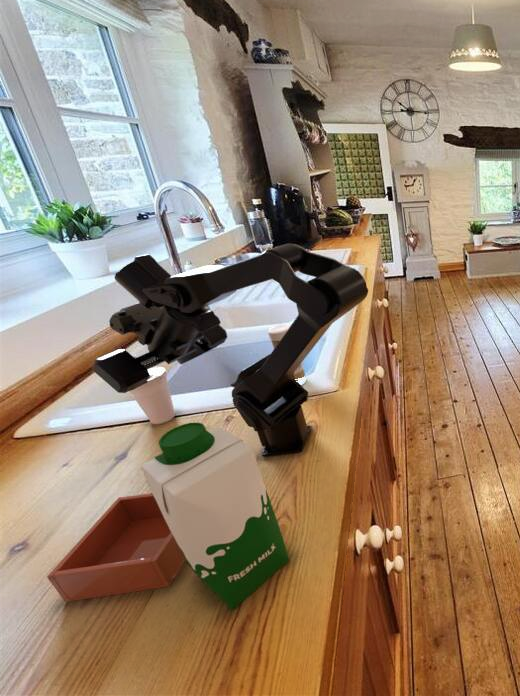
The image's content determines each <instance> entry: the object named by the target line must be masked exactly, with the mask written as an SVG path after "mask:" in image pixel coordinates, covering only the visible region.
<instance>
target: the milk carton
mask: <svg viewBox="0 0 520 696" xmlns="http://www.w3.org/2000/svg"><path fill="white" fill-rule="evenodd" d="M158 445H159V448H160V450H161V452H162V453H160V454H157V455H156V456H154V458H152V459H150V460H148V461H146V462H144V463H142V464H141V465H140V468H141V470H142V472H143V475H144V478H145V480H146V482H147V486H148V487H149V490H150V492H151V493H152V494H153V496H154V498H155V499H156V501H157V504H158V506H159V508H160V510H161V512H162V515H163V517H164V519H165V521H166V523H167V525H168V527H169V529H170V531H171V533H172V535H173V536H174V538H175V540H176V542H177V544H178V546H179V548H180V550H181V552H182V554H183V556H184V558H185V560H186V561H185V562H186V563H187V565H188V566H189V567H190V569H191V570H192V572H193V573H194V574H195V575H196V576H197V577H198V578H199V579H200V580H201V581H202V582H203V584H205V585H206V587H208V588H209V589H210V591H212V593H213V594H215V595H216V596H217V597H218V598H219V599H220V600H221V601H222V602H223V603H224V604H225V605H226V606H227V607H228V608H229V609H230V610H231V611H233V610H235V609H236V608H237V607H238V606H239V605H240V604H242V603H243V602H244V601H245V600H246V599H247V598H248V597H250V596H251V595H252V594H253V593H254V592H255V591H256V590H257V589H259V588H260V587H261V586H262V585H263V584H265V583H266V582H267V581H268V580H269V579H270V578H272V576H274V575H275V574H276V573H277V572H278V571H279V570H281V569H282V568H283V567H284V566H285V565H286V564H287V563H289V562H290V561H291V560H290V556H289V554H288V550H287V547H286V544H285V541H284V537H283V535H282V534H283V533H282V532H281V528H280V525H279V522H278V520H277V517H276V513H275V511H274V508H273V505H272V502H271V499H270V497H269V494H268V492H267V489H266V486H265V482H264V479H263V477H262V474H261V471H260V470H259V469H260V468H259V465H258V463H257V459H256V454H255V448H254V447H253V446H251V445H250V444H248V443H246V442H245V441H244V439H242V438H241V437H240V436H238V435H236V434H234V433H232V432H230V431H229V430H227V429H226V428H224V427H223V426H221V425H215V426H213V427H211V428H210V429H208V430H207V428H206V426H205V425H204V424H203V423H202V422H197V421H196V422H187V423H184V424H181V425H179V426H175V427H173V428H172V429H170V430H168V431H167V432H165V433H164V434H163V435H162V436H161V437H160V438H159V440H158Z"/></svg>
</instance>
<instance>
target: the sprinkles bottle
mask: <svg viewBox="0 0 520 696" xmlns="http://www.w3.org/2000/svg"><path fill="white" fill-rule="evenodd" d="M291 325H292V324H288V323H284V324H283V323H282V324H277V325H275V326H273V327H270V328H269V329H268V331H267V335H268V337H269V340H270V342H271V344H272V347H273V350H274V349H275V347H276V346H277V344H278V343H279V342H280V340H281V339H282V337H283V336H284V334H285V333H286V332H287V330H288V329H289V327H290V326H291ZM294 375H295V377H296V379H298V378H302V377H304V376H305V377H306V374H305V370H304V365H303V362H302V363H301V364H300V365H299V366H298V368H297V369H296V370H295V372H294ZM295 381H298V380H295Z"/></svg>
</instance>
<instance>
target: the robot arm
mask: <svg viewBox="0 0 520 696" xmlns="http://www.w3.org/2000/svg"><path fill="white" fill-rule="evenodd" d="M298 272H299V273H301V274H303V275H306V276H310V277H314V278H311V279H310V280H307V281H306V280H304V279H303V278H301V277H299V276H298V275H297V274H296V273H298ZM114 280H115V282H117V283H118V284H119V285H120V286H121V287H122V288H123V289H125V290H126V292H128V293H129V294H130V295H131V296H132V297H133V298H135V300H137V301H138V302H136V303H134V304H131V305H128V306H125V307H122V308H120V310H119V311H116V312H114V313H113V314H112V315H111V316H110V318H109V327H110V328H111V330H113V331H115V332H116V333H117V334H120V335H122V336H124V335H126V334H129V333H131V334H135V335H136V336H138V337H137V339H136V340H137V342H138V343H139V344H141V345H142V346H145V345H146V346H147V350H148V352H146V353H144V354H142V355H139V356H136V357H137V358H134V357H133V356H134V355H132V354H131V353H130V352H129V351H127V350H126V349H122V348H119V349H117V350H114V351H111V352H110V353H107V354H104V355H103V356H100V357H97V358H95V360H94V363H93V366H92V368H91V371H92V372H94V373H95V374H96V375H97V376H98V377H99V378H100V379H102V380H103V381H104V382H105V383H107V384H108V385H109V386H110V387H111V388H112V389H113V390H115V391H116V393H118V394H126V393H129V391H132V390H134V389H136V388H138V387H140V386H141V385H143V384H145V383H147V382H148V381H147V380H148V379H149V377H150V374H149V372H148V370H149V369H151V368H153V367H158V366H159V365H161V364H163V363H166V364H167V365H170V364H172V363H174V362H177V363H179V364H180V365H184V364H186V363H188V362H189V361H192V360H194V359H196V358H199V356H203V355H204V354H206V353H208V352H210V351H212V350H215V349H216V348H217V347H219V346H220V345H223V344H224V343H225V342H226V340H227V339H228V333H227V330H226V329H225V328H224V327H223V326H222V325H221V323H222V322H221V320H220V318H219V316H218V315H216V313H215V312H214V310H212V309H211V308H210V307H211V305H213V304H215V303H218V302H220V301H223V300H225V299H228V298H229V297H230V296H232V295H233V294H235V293H236V292H237V291H238V290H241V289H245V288H248V287H251V286H255V285H258V284H260V283H264V282H267V281H271V280H273V281H275V282H276V283H278V285H280V287H281V289H282V291H283V292H284V294H285V296H286V297H287V299H288V300H290V301H291V302H292V303H294V304H295V305H296V309H297V313H298V314H297V316H296V317H295V319H294V320H293V321H292V323H291V324H290V325H291V326H290V327H289V329H288V330H287V332H286V333H285V334H284V336H283V337H282V339H281V340H280V342H279V343H278V344H277V346H276V347H275V349H274V348H273V350H272V351H271V352H270V353H269V354H267V355H265V356H264V357H262V358H260V359H259V360H257V361H255V362H254V363H252V364H251V365H249V366H247V367H245V368H243V369H242V370H241V371H240V372H239V373H238V375H237V377H236V381H234V382H233V383H231V384H230V387H232V390H231V397H232V404H233V406H234V407H235V409H236V410H237V412H238V413H239V416H240V417H241V418H242V419H243V421H244V422H245V424H246V425H247V427H249V428H253V430H254V432H256V433H257V437H258V438H259V441H260V445H261V446H262V447H263V449H262V451H261V453H260V454H261V456H262V457H270V456H278V455H286V454H288V455H289V454H296V453H300V452H302V451H303V450H304V449H305V445H306V443H307V441H308V439H309V436H310V435H311V432H312V431H313V426H312V425H307V420H306V417H305V413H304V410H303V407H302V405H304V404H305V403H306V402H307V401H308V400H309V391H308V390H307V389H306V388H304V387H303V385H300V384H299V383H298V382H296V381H295V379H296V377H295V375H294V372H295V370H296V369H297V368H298V366H299V365H300V364H301V363H302V364H303V362H304V360H306V358H307V357H308V355H309V354H310V353H311V351H312V350H313V349H314V347H315V346H316V345H317V344H318V342H319V341H320V340H321V338H322V337H323V336H324V335H325V333H326V332H327V331H328V329H329V328H330V327H331V326H332V325H333V323H335V322H336V321H338V320H339V319H340V318H342V317H343V316H345V315H346V314H347V313H349V312H350V311H352V310H353V309H354V308H355V307H356V306H358V305H359V304H361V303H362V302H363V301H364V300H366V298H367V296H368V294H369V288H368V287H367V286H368V285H367V282H366V280H365V278H364V276H363V275H362V274H361V272H360V271H359V270H357V269H356V268H355V267H352V266H350V265H346V264H344V263H343V262H341V261H339V260H337V259H335V258H333V257H328V256H325V255H323V254H320V253H315V252H311V251H309V250H308V249H306V248H304V247H302V246H300V245H299V244H296V243H291V242H290V243H285V244H281V245H279V246H275V247H272V248H268V249H266V250H264V251H263V252H262V253H261V254H257V255H255V256H252V257H249V258H246V259H243V260H240V261H237V262H234V263H232V264H229V265H222V264H212V265H204V266H201V267H197V268H195V269H191V270H187V271H185V272H182V273H178V274H176V275H171V274H170V272H169V271H167V270H166V269H165V268H164V267H162V265H160V263H159V262H158V261H157V260H156V259H155V258H154V257H153V256H152V255H151V254H150V253H146V254H142V255H138V256H135V257H134V260H132V261H131V262H129V263H128V264H126V265H125V266H123V267H122V268H121V269H119V271H116V273H115V274H114Z"/></svg>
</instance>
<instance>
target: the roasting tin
mask: <svg viewBox="0 0 520 696" xmlns="http://www.w3.org/2000/svg"><path fill="white" fill-rule="evenodd" d="M185 562H187V561H186V560H185V558H184V556H183V554H182V552H181V550H180V548H179V546H178V544H177V542H176V540H175V538H174V536H173V535H172V533H171V531H170V529H169V527H168V525H167V523H166V521H165V519H164V517H163V515H162V512H161V510H160V508H159V506H158V504H157V501H156V499H155V498H154V496H153V494H152V492H151V493H150V492H149V493H142V494H133V495H126V496H125V495H124V496H119V497H118V498H116V500H115V501H114V502H113V503H112V504H111V505H109V507H108V508H107V510H106V511H105V512H104V513H103V514H102V515H101V516H100V517H99V519H98V520H96V522H95V523H94V524H93V525H92V526H91V527H90V528H89V529H88V530H87V532H86V533H85V534H84V535H83V536H82V537H81V538H80V540H79V541H78V542H77V543H76V544H75V545H74V546H72V548H71V550H70V551H69V552H67V554H66V555H65V556H64V557H63V558H62V559H61V560H60V561H59V563H57V564H56V566H54V568H53V569H52V570H51V571H50V572H49V573H48V574H47V576H46V578H47V580H48V581H49V582H50V584H51V585H52V586H53V587H54V589H55V590H56V592H57V593H58V595H59V596H60V597H61V598H62V600H63V602H64V603H70V602H76V601H83V600H91V599H95V598H96V599H97V598H103V597H109V596H115V595H121V594H129V593H135V592H141V591H142V592H143V591H148V590H155V589H160V588H161V589H163V588H168V587H171V585H172V584H173V581H174V580H175V579H176V577H177V575H178V574H179V572H180V570H181V569H182V568H183V566H184V564H185Z"/></svg>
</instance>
